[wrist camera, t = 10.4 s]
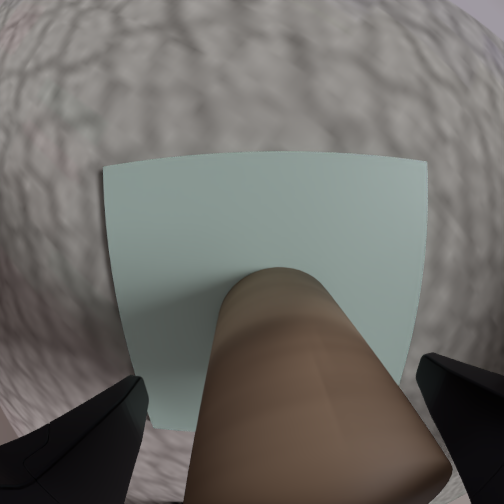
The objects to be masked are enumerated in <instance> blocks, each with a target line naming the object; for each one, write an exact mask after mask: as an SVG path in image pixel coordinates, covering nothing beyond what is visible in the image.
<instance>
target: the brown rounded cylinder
mask: <svg viewBox="0 0 504 504" xmlns="http://www.w3.org/2000/svg"><path fill="white" fill-rule="evenodd" d="M452 470H453V469H452V465H451V463H450V462H449V460H448V459H447V457H446V455H445V454H444V452H443V451H442V449H441V448H440V446H439V445H438V443H437V442H436V440H435V439H434V437H433V436H432V434H431V433H430V431H429V430H428V428H427V427H426V425H425V424H424V422H423V421H422V419H421V418H420V416H419V415H418V413H417V412H416V410H415V409H414V408H413V406H412V405H411V403H410V402H409V400H408V399H407V397H406V396H405V395H404V393H403V392H402V390H401V389H400V388H399V386H398V385H397V383H396V382H395V381H394V379H393V378H392V376H391V375H390V374H389V372H388V371H387V369H386V368H385V367H384V365H383V364H382V363H381V361H380V360H379V358H378V357H377V356H376V354H375V353H374V352H373V350H372V349H371V348H370V346H369V345H368V344H367V342H366V341H365V339H364V338H363V337H362V335H361V334H360V333H359V331H358V330H357V329H356V327H355V326H354V325H353V324H352V322H351V321H350V320H349V318H348V317H347V316H346V314H345V313H344V312H343V310H342V309H341V308H340V307H339V305H338V304H337V303H336V301H335V300H334V299H333V297H332V296H331V295H330V294H329V292H328V291H327V290H326V288H325V287H324V286H323V285H322V284H321V283H320V282H319V281H318V280H317V279H316V278H314V277H313V276H311V275H309V274H308V273H305V272H303V271H301V270H297V269H294V268H287V267H273V268H267V269H262V270H259V271H256V272H254V273H252V274H250V275H248V276H246V277H244V278H243V279H241V280H240V281H239V282H238V283H236V284H235V285H234V286H233V287H232V288H231V290H230V291H229V292H228V293H227V295H226V296H225V298H224V300H223V302H222V304H221V307H220V311H219V315H218V320H217V325H216V329H215V334H214V339H213V344H212V349H211V354H210V359H209V364H208V369H207V374H206V379H205V384H204V389H203V394H202V400H201V405H200V410H199V415H198V421H197V426H196V432H195V437H194V443H193V448H192V454H191V459H190V465H189V471H188V477H187V483H186V489H185V495H184V501H183V504H428V503H429V502H431V501H432V500H433V499H434V498H435V497H436V496H437V495H438V494H439V493H440V492H441V490H442V489H443V488H444V487H445V485H446V484H447V482H448V481H449V479H450V477H451V475H452Z"/></svg>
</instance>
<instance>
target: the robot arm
mask: <svg viewBox="0 0 504 504" xmlns="http://www.w3.org/2000/svg"><path fill="white" fill-rule="evenodd" d="M416 381H417V383H418V386H419V388H420V390H421V393H422V395H423V398H424V400H425V403H426V405H427V408H428V410H429V413H430V415H431V417H432V419H433V421H434V423H435V425H436V426H437V428H438V430H439V432H440V434H441V436H442V438H443V440H444V442H445V445H446V447H447V449H448V451H449V453H450V455H451V457H452V459H453V461H454V464H455V466H456V468H457V470H458V472H459V475H460V477H461V479H462V482H463V484H464V486H465V489H466V491H467V493H468V496H469V499H470V501H471V504H504V376H503V375H500V374H497V373H493V372H490V371H487V370H484V369H481V368H478V367H475V366H472V365H469V364H466V363H463V362H460V361H457V360H454V359H451V358H448V357H445V356H442V355H439V354H436V353H428V354H424V355H423V356H422V357H421V359H420V363H419V366H418V369H417V373H416ZM148 405H149V396H148V392H147V389H146V386H145V383H144V380H143V378H142V377H141V376H133V375H130V376H127V377H126V378H124V379H123V380H121V381H119V382H118V383H116V384H114V385H113V386H111V387H110V388H108V389H106V390H105V391H103V392H101V393H100V394H98V395H96V396H95V397H93V398H91V399H90V400H88V401H86V402H85V403H83V404H81V405H79V406H78V407H76V408H74V409H73V410H71V411H69V412H67V413H66V414H64V415H62V416H60V417H59V418H57V419H55V420H53V421H51V422H50V424H46V425H44V426H42V427H41V428H39V429H37V430H35V431H33V432H31V433H29V434H27V435H25V436H22V437H20V438H18V439H15V440H13V441H10V442H8V443H5V444H3V445H1V446H0V504H124V502H125V498H126V494H127V490H128V487H129V483H130V480H131V476H132V473H133V469H134V466H135V463H136V459H137V456H138V453H139V449H140V446H141V442H142V438H143V432H144V427H145V421H146V415H147V410H148Z"/></svg>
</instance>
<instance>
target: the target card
mask: <svg viewBox="0 0 504 504" xmlns="http://www.w3.org/2000/svg"><path fill="white" fill-rule="evenodd" d="M103 186H104V204H105V218H106V229H107V238H108V247H109V255H110V262H111V269H112V275H113V281H114V287H115V293H116V298H117V303H118V308H119V313H120V318H121V322H122V327H123V331H124V335H125V339H126V343H127V347H128V351H129V355H130V358H131V362H132V365H133V369H134V372H135V376H141V377H142V378H143V380H144V383H145V386H146V389H147V392H148V396H149V405H148V410H147V412H148V415H149V417H150V420H151V423H152V425H153V428H158V429H167V430H178V431H192V432H196V426H197V421H198V415H199V410H200V405H201V400H202V394H203V389H204V384H205V379H206V374H207V369H208V364H209V359H210V354H211V349H212V344H213V339H214V334H215V329H216V325H217V320H218V315H219V311H220V307H221V304H222V302H223V300H224V298H225V296H226V295H227V293H228V292H229V291H230V290H231V288H232V287H233V286H234V285H235V284H236V283H238V282H239V281H240V280H241V279H243V278H244V277H246V276H248V275H250V274H252V273H254V272H256V271H259V270H262V269H267V268H273V267H287V268H294V269H297V270H301V271H303V272H305V273H308V274H309V275H311V276H313V277H314V278H316V279H317V280H318V281H319V282H320V283H321V284H322V285H323V286H324V287H325V288H326V290H327V291H328V292H329V294H330V295H331V296H332V297H333V299H334V300H335V301H336V303H337V304H338V305H339V307H340V308H341V309H342V310H343V312H344V313H345V314H346V316H347V317H348V318H349V320H350V321H351V322H352V324H353V325H354V326H355V327H356V329H357V330H358V331H359V333H360V334H361V335H362V337H363V338H364V339H365V341H366V342H367V344H368V345H369V346H370V348H371V349H372V350H373V352H374V353H375V354H376V356H377V357H378V358H379V360H380V361H381V363H382V364H383V365H384V367H385V368H386V369H387V371H388V372H389V374H390V375H391V376H392V378H393V379H394V381H395V382H396V383H397V385H398V386H399V383H400V380H401V376H402V373H403V369H404V366H405V362H406V358H407V355H408V351H409V347H410V342H411V338H412V334H413V329H414V324H415V319H416V314H417V309H418V303H419V297H420V291H421V284H422V276H423V268H424V259H425V249H426V235H427V215H428V172H427V161H420V160H412V159H404V158H396V157H386V156H376V155H364V154H350V153H332V152H299V151H268V152H234V153H216V154H202V155H189V156H179V157H169V158H160V159H152V160H144V161H137V162H130V163H123V164H117V165H111V166H105V167H103Z"/></svg>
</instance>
